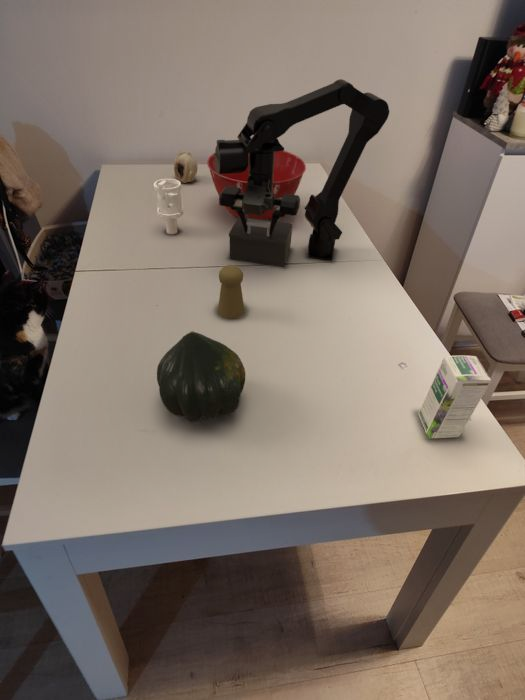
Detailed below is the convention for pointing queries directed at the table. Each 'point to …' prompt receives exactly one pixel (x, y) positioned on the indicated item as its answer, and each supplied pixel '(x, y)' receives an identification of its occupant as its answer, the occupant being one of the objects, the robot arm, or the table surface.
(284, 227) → the lid
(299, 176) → the mixing bowl
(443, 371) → the syrup box
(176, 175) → the beige rounded hollow piece
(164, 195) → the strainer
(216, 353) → the squash
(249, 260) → the open black tray
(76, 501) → the table surface
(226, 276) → the peg doll
